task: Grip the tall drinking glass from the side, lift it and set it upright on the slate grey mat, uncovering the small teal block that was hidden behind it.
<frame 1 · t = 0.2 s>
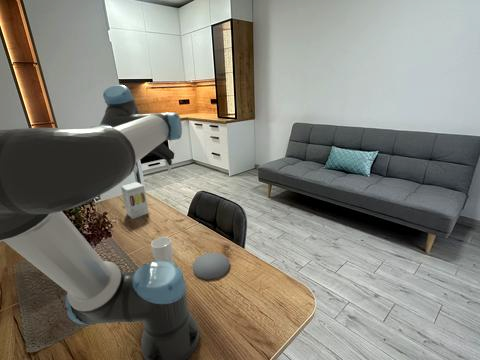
hand: (153, 170, 102), 34 cm above the table, tool tilted 35°, fingers open, 13 cm apart
supplement box: (137, 213, 143), on the table
drinking glass: (167, 277, 94), on the table
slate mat: (211, 266, 98), on the table
teal block: (162, 255, 107), on the table
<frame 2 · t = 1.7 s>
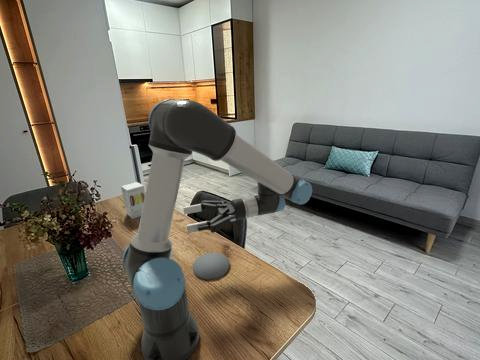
hand: (185, 219, 89), 22 cm above the table, tool horizontal, fingers open, 13 cm apart
nothing on the table moved.
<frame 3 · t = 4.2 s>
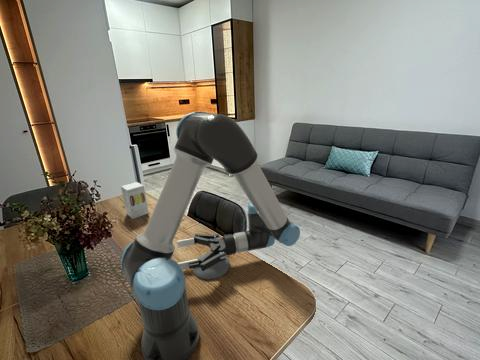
hand: (177, 254, 93), 8 cm above the table, tool horizontal, fingers open, 13 cm apart
nothing on the table moved.
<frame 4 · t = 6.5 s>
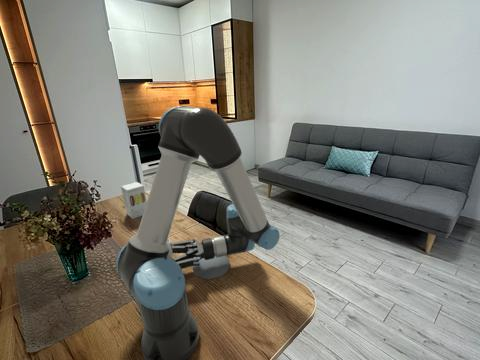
hand: (148, 260, 90), 8 cm above the table, tool horizontal, fingers closed on drinking glass, 6 cm apart
drinking glass: (167, 276, 94), on the table, touching gripper
everything else where it was.
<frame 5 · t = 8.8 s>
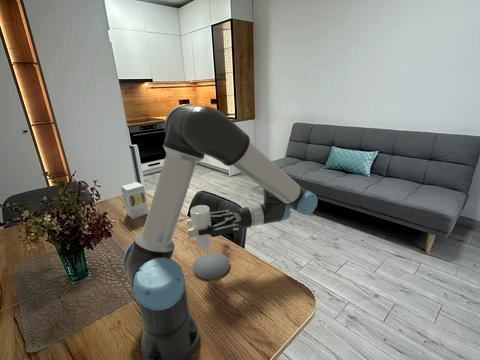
hand: (187, 228, 90), 18 cm above the table, tool horizontal, fingers closed on drinking glass, 6 cm apart
drinking glass: (204, 245, 95), point 10 cm above the table, touching gripper
everything else where it was.
when the fingers open (10 cm above the table, at t = 11.6 s): drinking glass stays where it is, resting on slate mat.
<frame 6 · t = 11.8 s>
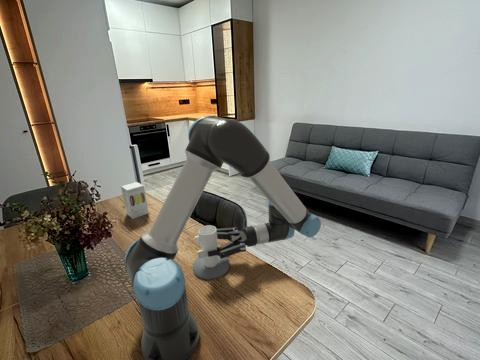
hand: (196, 246, 94), 10 cm above the table, tool horizontal, fingers open, 9 cm apart
drinking glass: (211, 264, 98), point 1 cm above the table, touching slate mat
everything else where it was.
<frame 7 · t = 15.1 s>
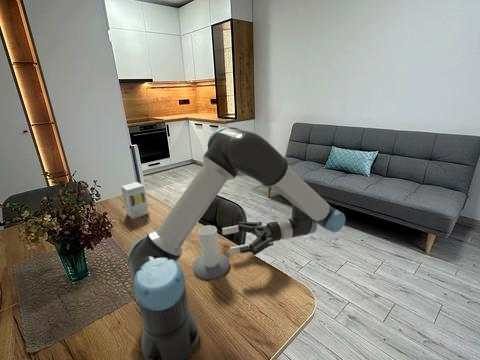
hand: (226, 240, 96), 10 cm above the table, tool horizontal, fingers open, 13 cm apart
nothing on the table moved.
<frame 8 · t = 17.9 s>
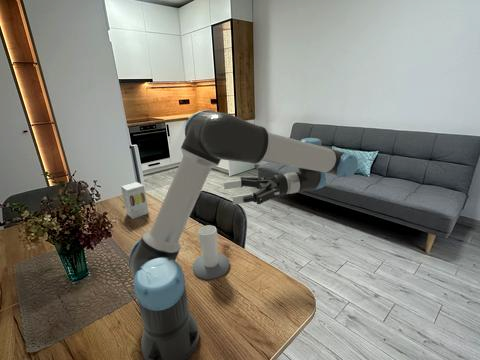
hand: (228, 192, 89), 30 cm above the table, tool horizontal, fingers open, 13 cm apart
nothing on the table moved.
at the end: drinking glass 0.0 cm off-centre on the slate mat, point 1.0 cm above the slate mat's base; drinking glass tilted 0°; the gripper is holding nothing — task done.
